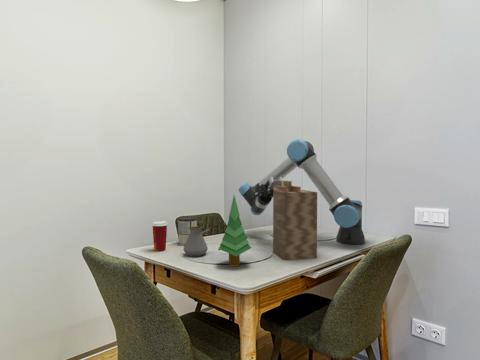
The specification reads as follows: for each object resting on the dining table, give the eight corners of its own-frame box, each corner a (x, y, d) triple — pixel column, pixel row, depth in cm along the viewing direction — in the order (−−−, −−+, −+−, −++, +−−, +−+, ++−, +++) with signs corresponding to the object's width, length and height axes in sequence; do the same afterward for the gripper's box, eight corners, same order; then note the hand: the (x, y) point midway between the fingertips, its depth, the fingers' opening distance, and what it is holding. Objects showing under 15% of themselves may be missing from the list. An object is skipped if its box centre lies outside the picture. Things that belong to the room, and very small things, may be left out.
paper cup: (170, 249, 170) (170, 221, 170) (161, 252, 163) (161, 223, 163) (158, 247, 173) (158, 220, 173) (148, 251, 166) (148, 222, 166)
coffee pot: (188, 259, 152) (188, 225, 151) (180, 253, 162) (179, 222, 161) (230, 253, 162) (230, 222, 161) (220, 248, 172) (220, 219, 172)
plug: (274, 188, 176) (274, 179, 176) (291, 190, 155) (291, 181, 155) (267, 188, 175) (267, 179, 175) (283, 191, 154) (283, 181, 154)
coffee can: (181, 241, 188) (181, 216, 188) (199, 241, 187) (199, 216, 187) (175, 245, 178) (175, 219, 178) (195, 246, 177) (194, 219, 176)
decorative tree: (209, 264, 143) (209, 193, 142) (239, 258, 153) (239, 192, 152) (228, 272, 133) (228, 196, 132) (258, 264, 142) (258, 194, 141)
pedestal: (303, 250, 167) (303, 185, 166) (316, 257, 154) (317, 186, 152) (273, 252, 163) (273, 185, 162) (284, 260, 150) (284, 187, 148)
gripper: (279, 205, 188) (294, 185, 168) (249, 205, 183) (261, 186, 164) (276, 193, 191) (291, 172, 171) (247, 193, 187) (259, 172, 167)
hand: (276, 179), depth 167 cm, fingers closed on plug, 4 cm apart
